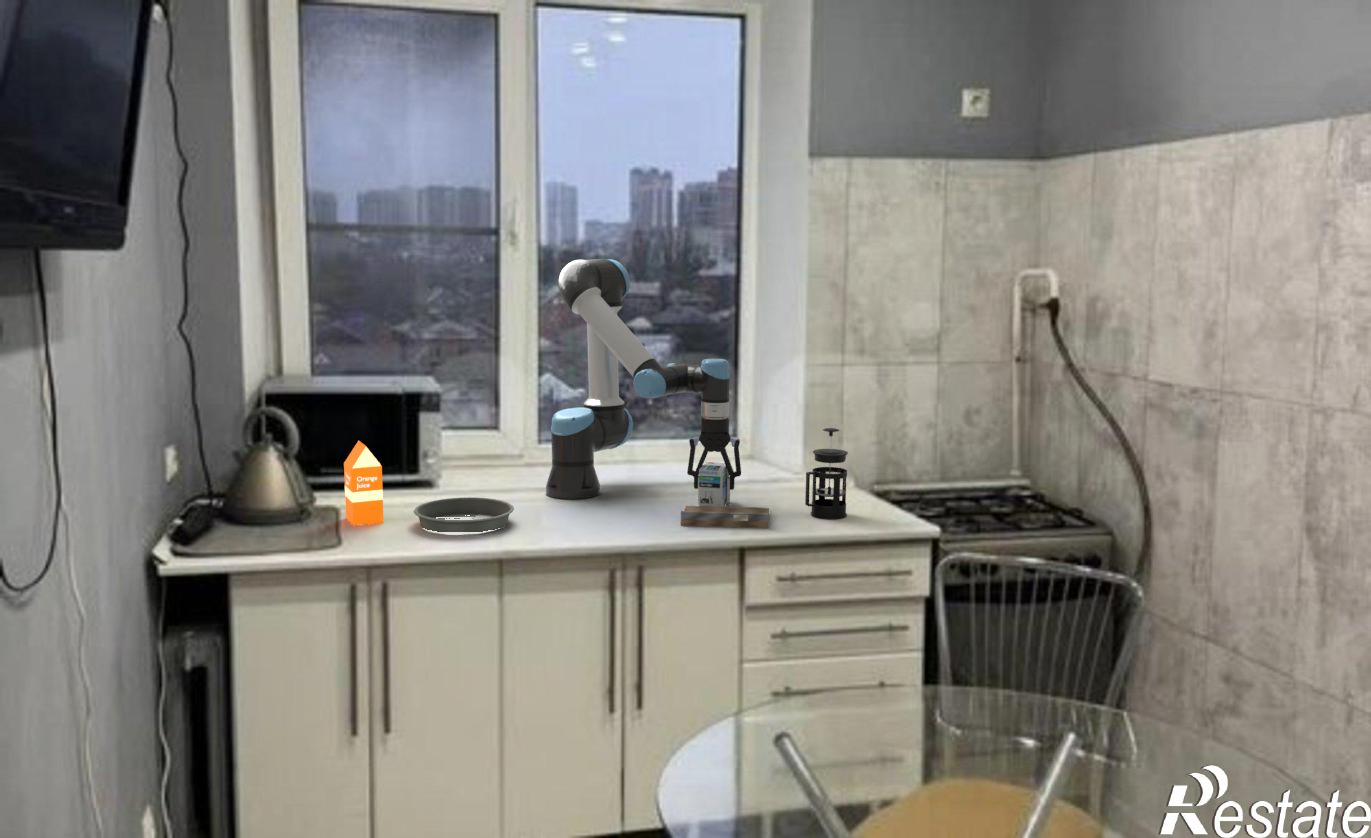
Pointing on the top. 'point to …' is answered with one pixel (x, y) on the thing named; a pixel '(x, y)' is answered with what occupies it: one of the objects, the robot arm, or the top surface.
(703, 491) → the light bulb box
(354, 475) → the orange juice
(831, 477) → the french press
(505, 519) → the cake pan
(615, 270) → the robot arm
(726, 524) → the shelf board
